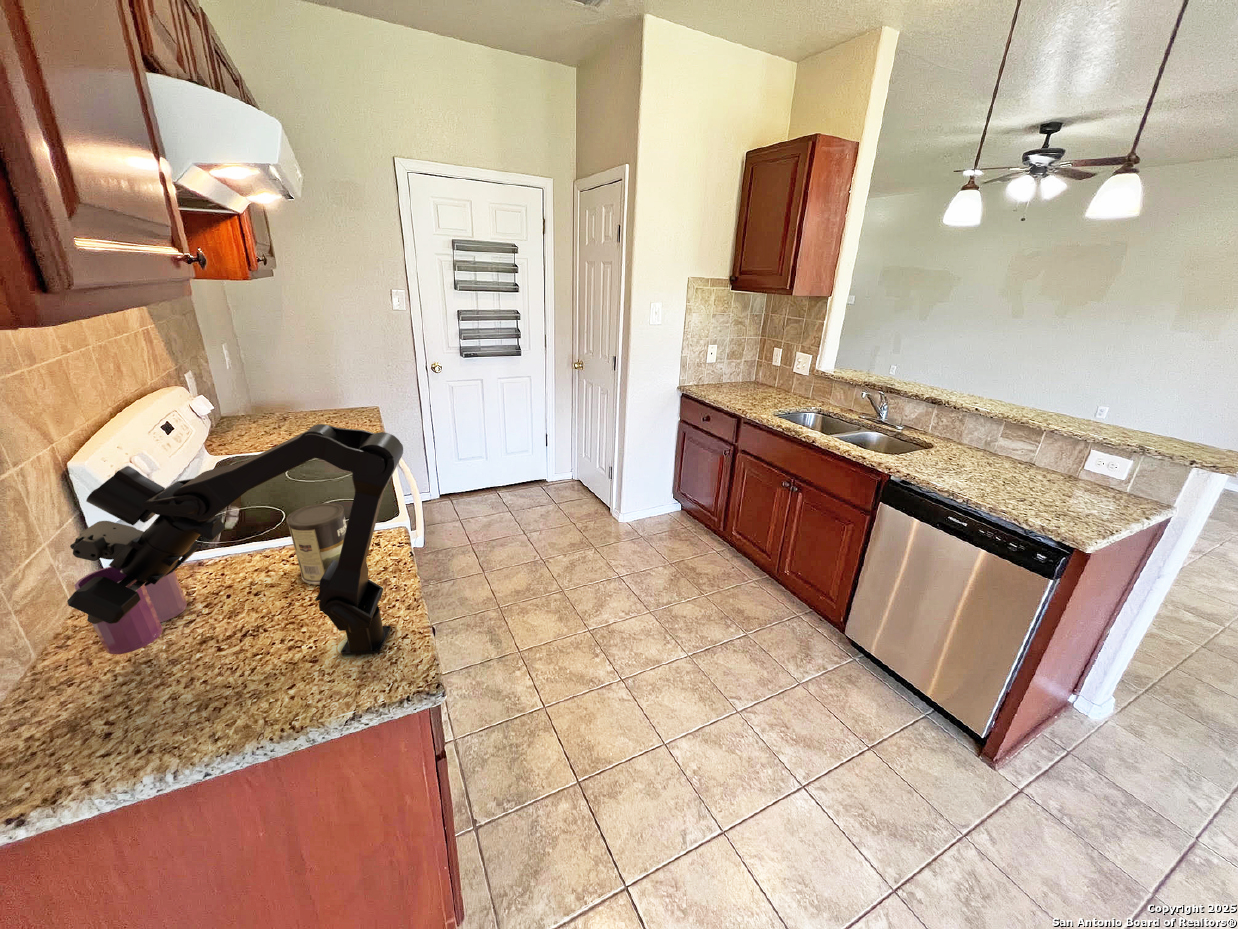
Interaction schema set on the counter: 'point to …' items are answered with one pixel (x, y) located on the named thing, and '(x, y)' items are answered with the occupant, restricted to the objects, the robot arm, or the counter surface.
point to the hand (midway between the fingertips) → (109, 606)
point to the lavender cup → (167, 597)
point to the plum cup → (126, 619)
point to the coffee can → (317, 538)
